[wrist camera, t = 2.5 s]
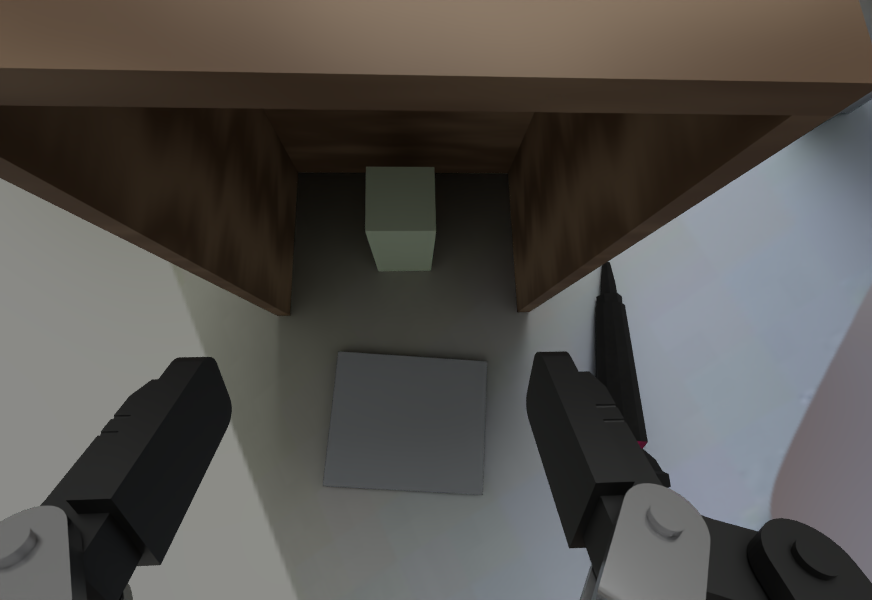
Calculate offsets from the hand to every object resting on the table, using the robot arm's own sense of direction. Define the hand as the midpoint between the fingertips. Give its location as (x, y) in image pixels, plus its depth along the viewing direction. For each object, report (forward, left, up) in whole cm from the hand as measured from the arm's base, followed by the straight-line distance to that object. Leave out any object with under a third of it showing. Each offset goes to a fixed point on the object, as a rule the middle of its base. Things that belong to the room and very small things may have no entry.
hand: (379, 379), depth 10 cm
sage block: (+1, -12, -22) cm, 25 cm away
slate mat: (-1, +3, -22) cm, 22 cm away
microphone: (-17, -1, -23) cm, 28 cm away
